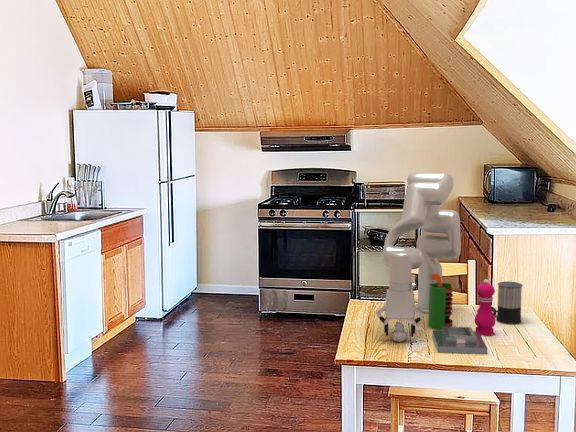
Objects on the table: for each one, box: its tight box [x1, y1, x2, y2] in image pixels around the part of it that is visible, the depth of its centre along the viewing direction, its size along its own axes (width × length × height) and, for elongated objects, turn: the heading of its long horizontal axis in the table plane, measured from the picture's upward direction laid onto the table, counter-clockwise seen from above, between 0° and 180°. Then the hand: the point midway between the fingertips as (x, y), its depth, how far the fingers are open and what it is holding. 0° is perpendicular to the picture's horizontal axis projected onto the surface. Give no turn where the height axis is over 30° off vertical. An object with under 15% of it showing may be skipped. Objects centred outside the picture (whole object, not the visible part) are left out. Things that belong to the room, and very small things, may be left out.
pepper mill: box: [474, 278, 496, 337], centre depth 229 cm, size 7×7×20 cm
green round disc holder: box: [427, 273, 454, 330], centre depth 238 cm, size 10×9×20 cm
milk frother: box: [476, 280, 524, 325], centre depth 247 cm, size 14×16×15 cm
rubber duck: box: [391, 320, 408, 343], centre depth 222 cm, size 5×7×8 cm
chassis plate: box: [432, 325, 488, 355], centre depth 217 cm, size 18×16×4 cm
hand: (399, 335), depth 222 cm, fingers open, 8 cm apart
